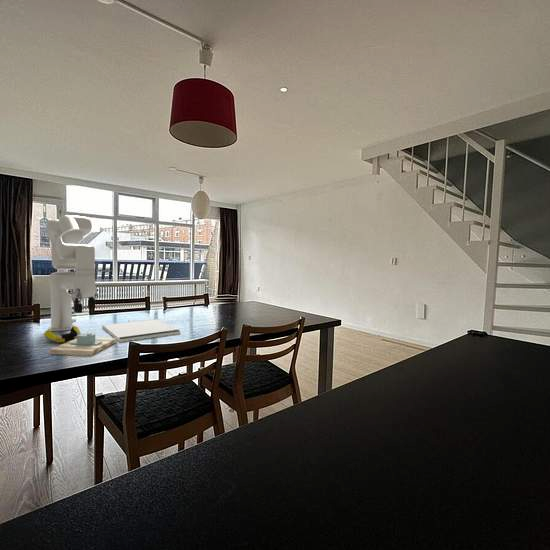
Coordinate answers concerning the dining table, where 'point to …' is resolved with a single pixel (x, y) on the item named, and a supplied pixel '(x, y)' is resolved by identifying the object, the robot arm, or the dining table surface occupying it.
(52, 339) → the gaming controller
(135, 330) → the white flat board
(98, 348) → the plate
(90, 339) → the servo block
